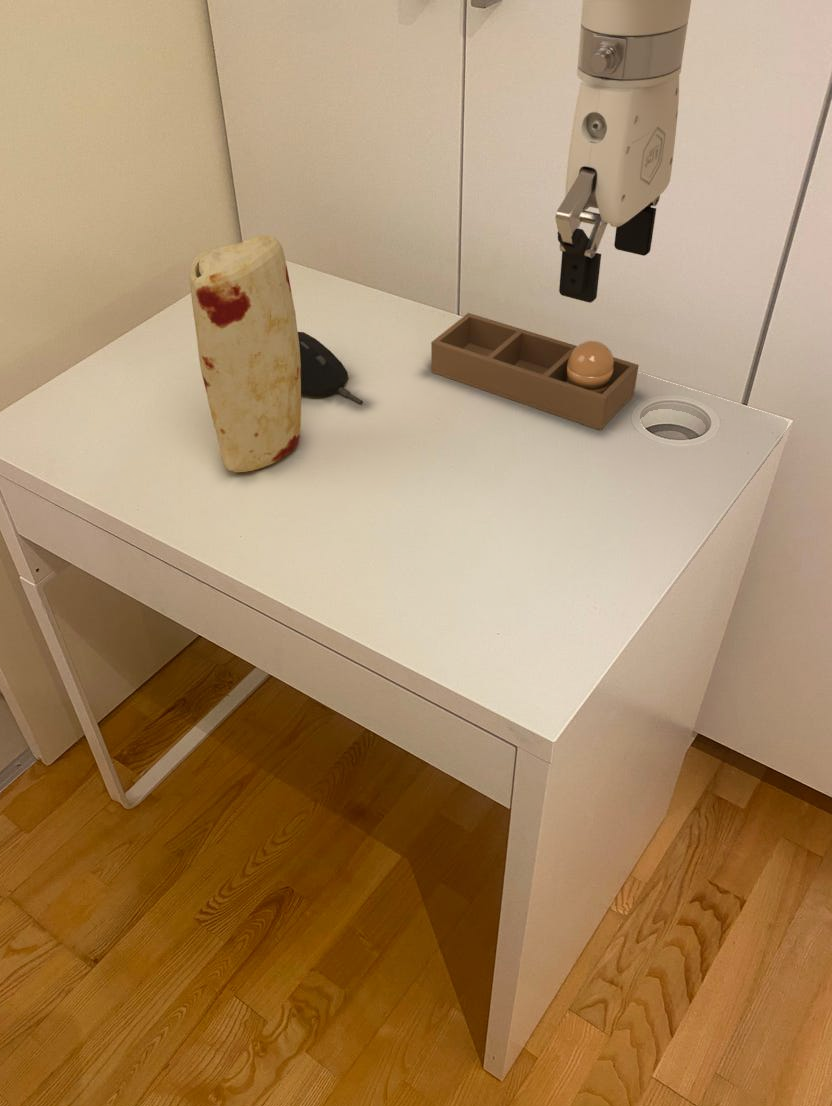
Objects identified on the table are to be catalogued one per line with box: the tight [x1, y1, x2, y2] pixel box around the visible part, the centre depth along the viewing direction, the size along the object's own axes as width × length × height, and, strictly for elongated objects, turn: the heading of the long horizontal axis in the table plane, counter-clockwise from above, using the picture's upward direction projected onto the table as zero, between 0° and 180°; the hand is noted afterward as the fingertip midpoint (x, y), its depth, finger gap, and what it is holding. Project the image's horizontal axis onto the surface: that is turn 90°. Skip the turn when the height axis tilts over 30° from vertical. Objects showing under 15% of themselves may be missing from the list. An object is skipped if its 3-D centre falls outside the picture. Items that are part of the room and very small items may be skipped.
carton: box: [430, 312, 640, 431], centre depth 96 cm, size 7×19×3 cm, turn 52°
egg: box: [566, 340, 614, 394], centre depth 92 cm, size 4×4×6 cm
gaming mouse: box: [298, 331, 364, 405], centre depth 99 cm, size 6×15×4 cm, turn 46°
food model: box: [188, 235, 302, 473], centre depth 85 cm, size 10×7×20 cm
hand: (605, 273), depth 85 cm, fingers open, 9 cm apart
